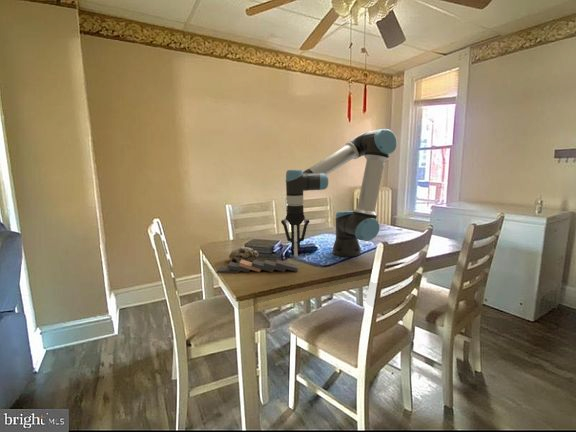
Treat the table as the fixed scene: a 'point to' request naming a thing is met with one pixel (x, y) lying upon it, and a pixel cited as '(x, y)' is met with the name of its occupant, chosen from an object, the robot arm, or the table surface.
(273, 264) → the domino
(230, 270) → the domino
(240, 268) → the domino
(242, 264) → the domino
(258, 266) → the domino
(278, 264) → the domino
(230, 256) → the skull
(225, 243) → the table surface
